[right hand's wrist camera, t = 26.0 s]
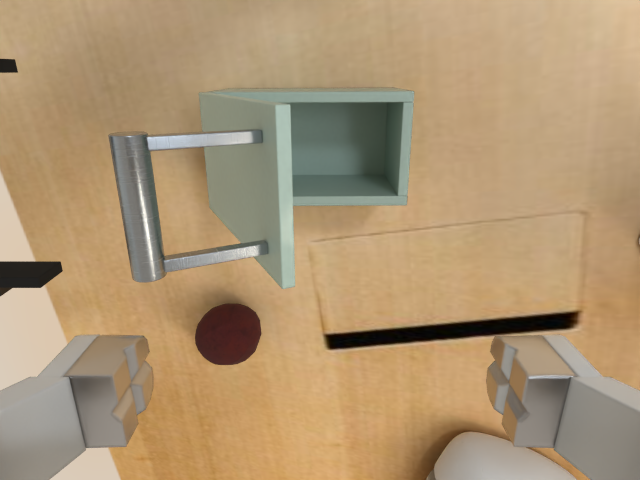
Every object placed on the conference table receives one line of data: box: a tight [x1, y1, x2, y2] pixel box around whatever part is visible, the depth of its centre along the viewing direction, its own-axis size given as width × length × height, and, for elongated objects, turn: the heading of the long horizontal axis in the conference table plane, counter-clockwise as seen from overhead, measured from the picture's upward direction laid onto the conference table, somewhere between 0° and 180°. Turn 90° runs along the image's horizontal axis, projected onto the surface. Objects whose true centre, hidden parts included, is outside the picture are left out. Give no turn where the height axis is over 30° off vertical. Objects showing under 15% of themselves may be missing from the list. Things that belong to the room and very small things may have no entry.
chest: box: [209, 88, 414, 206], centre depth 43 cm, size 18×10×10 cm, turn 90°
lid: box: [109, 92, 295, 289], centre depth 29 cm, size 18×10×8 cm
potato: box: [195, 304, 261, 365], centre depth 53 cm, size 7×8×7 cm
